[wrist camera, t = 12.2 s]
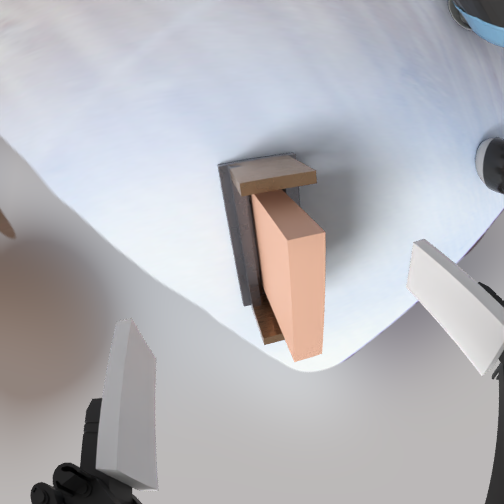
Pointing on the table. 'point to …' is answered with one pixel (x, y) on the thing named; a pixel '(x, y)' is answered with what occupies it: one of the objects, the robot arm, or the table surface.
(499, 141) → the pump dispenser
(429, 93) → the table surface
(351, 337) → the table surface
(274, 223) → the door panel
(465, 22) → the ceramic mug
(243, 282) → the door track
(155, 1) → the table surface
